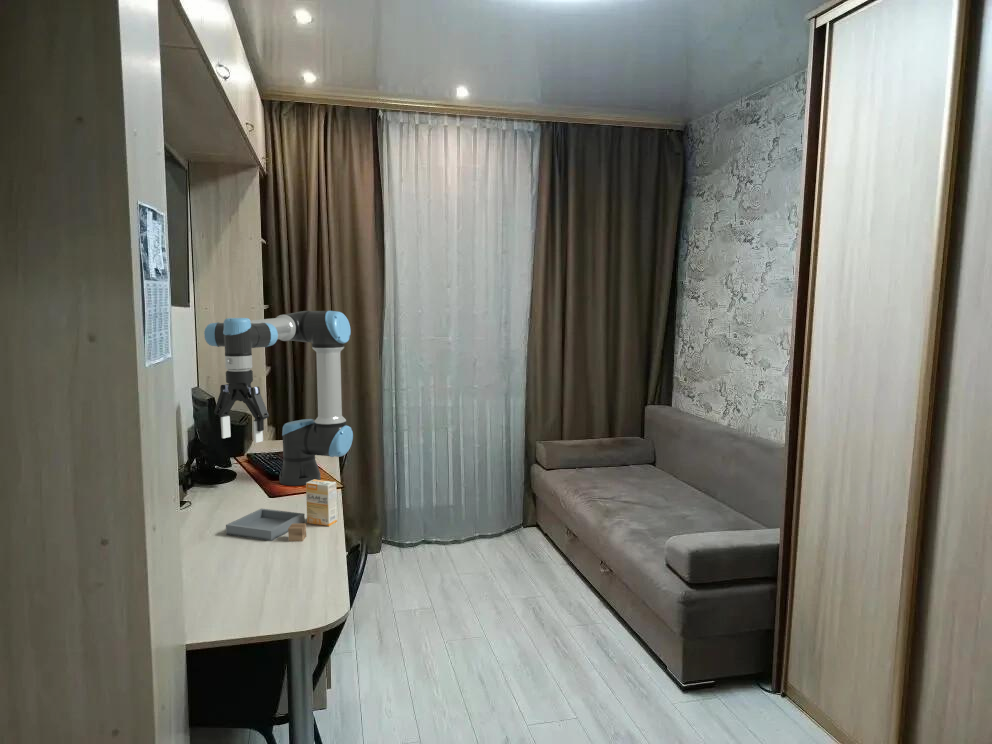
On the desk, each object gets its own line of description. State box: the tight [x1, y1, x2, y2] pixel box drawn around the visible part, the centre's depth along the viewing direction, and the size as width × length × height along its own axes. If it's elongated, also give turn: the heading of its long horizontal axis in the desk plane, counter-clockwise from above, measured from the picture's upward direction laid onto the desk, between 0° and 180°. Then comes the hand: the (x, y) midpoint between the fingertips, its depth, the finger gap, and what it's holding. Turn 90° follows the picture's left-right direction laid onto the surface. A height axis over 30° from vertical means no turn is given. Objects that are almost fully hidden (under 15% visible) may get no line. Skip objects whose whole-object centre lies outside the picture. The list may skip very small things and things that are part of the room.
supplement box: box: [305, 479, 338, 527], centre depth 204 cm, size 8×5×13 cm, turn 70°
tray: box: [225, 508, 305, 542], centre depth 199 cm, size 16×16×3 cm
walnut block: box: [287, 522, 307, 542], centre depth 191 cm, size 4×4×4 cm
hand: (242, 439), depth 198 cm, fingers open, 13 cm apart
